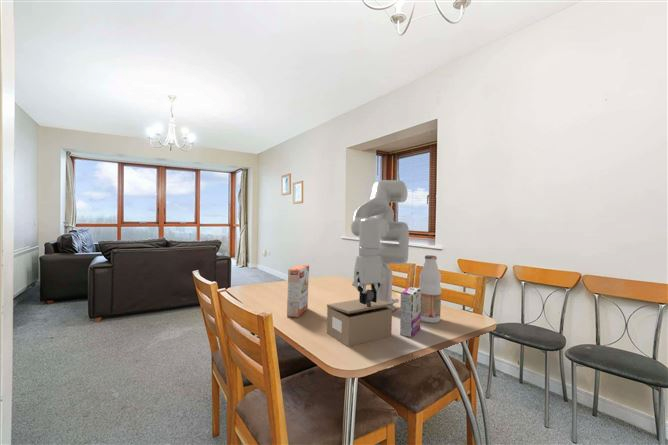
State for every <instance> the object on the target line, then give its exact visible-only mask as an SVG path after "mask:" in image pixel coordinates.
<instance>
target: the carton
mask: <svg viewBox="0 0 668 445" xmlns="http://www.w3.org/2000/svg"><path fill="white" fill-rule="evenodd" d="M326 307H327V306H326ZM326 310H327V311H326V334H327V335H329V336H331V337H332V338H334V339H335V340H337V341H338V342H340V343H342V344H343V345H344V346H346V347H347V348H349V347H354V346H357V345H360V344H364V343H368V342H373V341H375V340H378V339H383V338H386V337H391V336H392V327H393V326H392V324H393V323H392V322H393V311H392V309H390V308H388V307H381V308H376V309H371V310H366V311H361V312H355V313H350V314H348V313H345V312H342V311H339V310H336V309H332V308H329V307H327V309H326Z"/></svg>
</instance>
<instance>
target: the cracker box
mask: <svg viewBox="0 0 668 445" xmlns="http://www.w3.org/2000/svg"><path fill="white" fill-rule="evenodd" d="M287 271H288V272H287V273H288V274H287V302H286V306H287V307H286V317H291V318H292V317H293V318H300V316H301V315H303V314H304V313H305V312H306V310H308V307H309V306H308V304H309V303H308V302H309V278H310V277H309V276H310V265H308V264H297V265H295V266H293V267H291V268H289V269H288V270H287Z"/></svg>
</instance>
